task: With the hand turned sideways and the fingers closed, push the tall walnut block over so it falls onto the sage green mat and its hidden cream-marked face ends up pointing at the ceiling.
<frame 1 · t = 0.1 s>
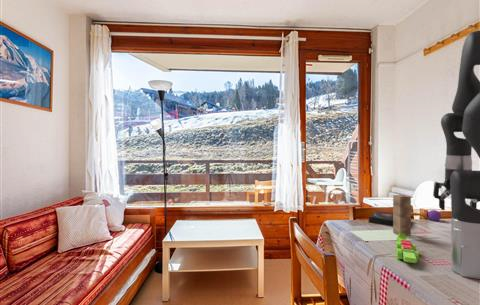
hand: (457, 210, 97), 17 cm above the table, tool pointing down, fingers open, 8 cm apart
sage mat: (384, 235, 121), on the table
walnut block: (401, 234, 122), resting on sage mat
kendama: (419, 219, 151), on the table
toy crocodile: (406, 257, 98), on the table
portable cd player: (389, 223, 143), on the table
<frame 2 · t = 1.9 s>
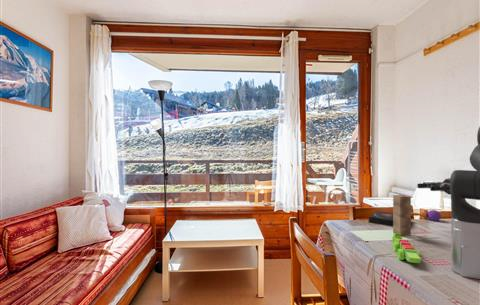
hand: (424, 187, 122), 22 cm above the table, tool horizontal, fingers open, 7 cm apart
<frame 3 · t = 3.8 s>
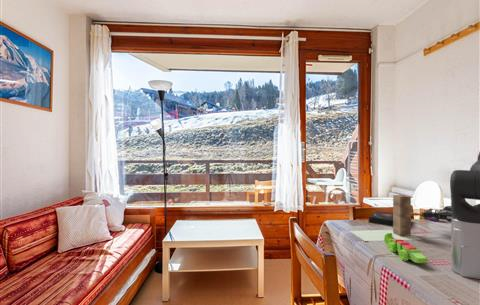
hand: (422, 214, 122), 9 cm above the table, tool horizontal, fingers closed
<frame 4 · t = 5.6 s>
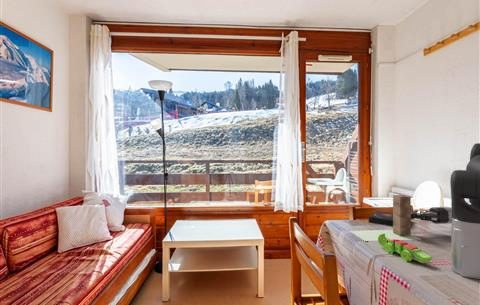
hand: (407, 216, 122), 9 cm above the table, tool horizontal, fingers closed
walnut block: (401, 234, 122), resting on sage mat, touching gripper
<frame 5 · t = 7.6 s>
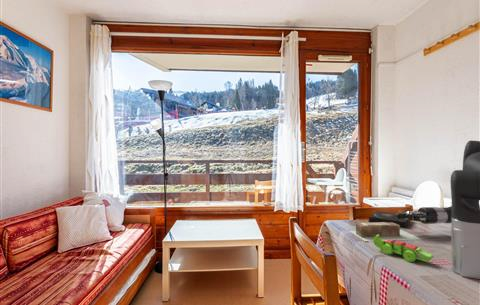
hand: (396, 216, 122), 9 cm above the table, tool horizontal, fingers closed
walnut block: (396, 229, 122), point 3 cm above the table, tilted 90°, touching sage mat
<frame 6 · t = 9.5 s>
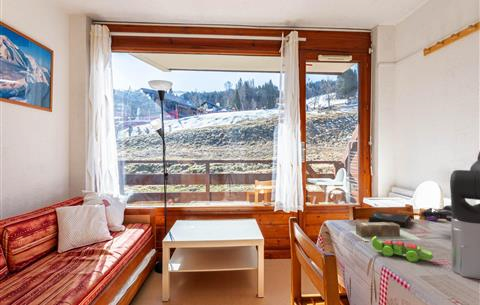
hand: (422, 214, 122), 10 cm above the table, tool horizontal, fingers closed
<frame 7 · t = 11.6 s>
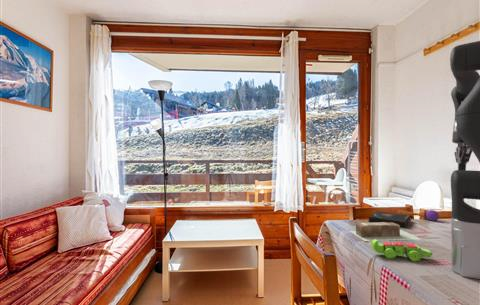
hand: (461, 172, 108), 30 cm above the table, tool pointing down, fingers closed
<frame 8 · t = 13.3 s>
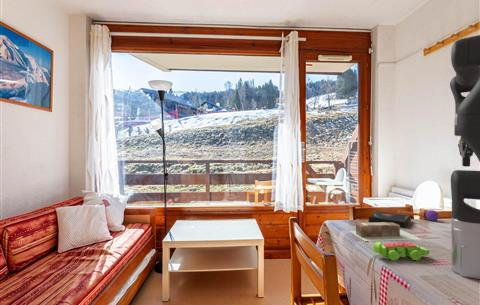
hand: (466, 166, 107), 33 cm above the table, tool pointing down, fingers closed
at the end: walnut block tilted 90°; walnut block touching sage mat; walnut block inside the target area (0.4 cm from its centre), point 2.9 cm above the table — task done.
